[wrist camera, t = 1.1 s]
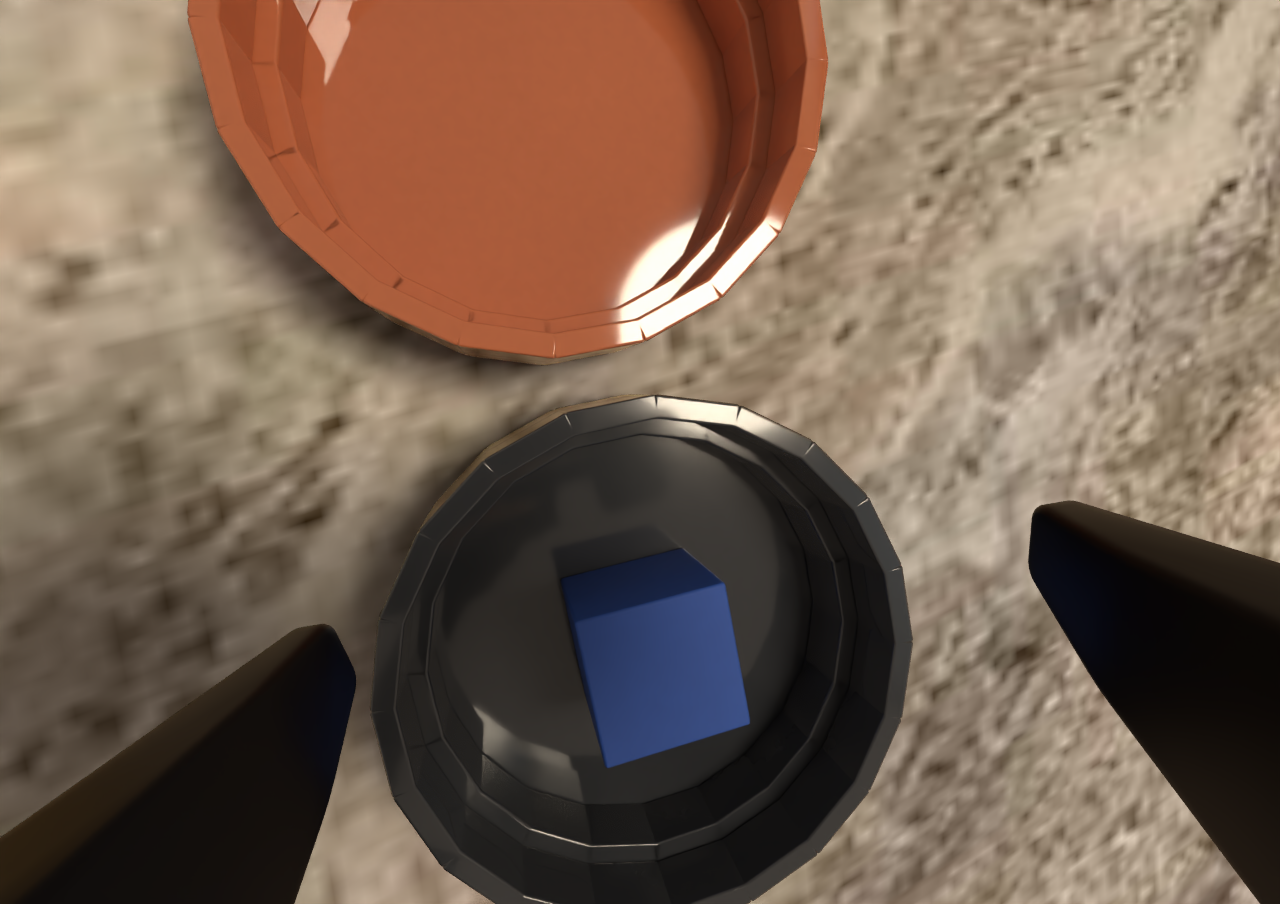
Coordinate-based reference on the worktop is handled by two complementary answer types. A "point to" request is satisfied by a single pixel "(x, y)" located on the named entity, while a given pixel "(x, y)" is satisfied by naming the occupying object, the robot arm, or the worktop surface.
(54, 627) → the worktop surface
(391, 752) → the charcoal bowl
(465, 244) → the terracotta bowl
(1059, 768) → the worktop surface
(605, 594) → the blue block
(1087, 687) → the worktop surface
